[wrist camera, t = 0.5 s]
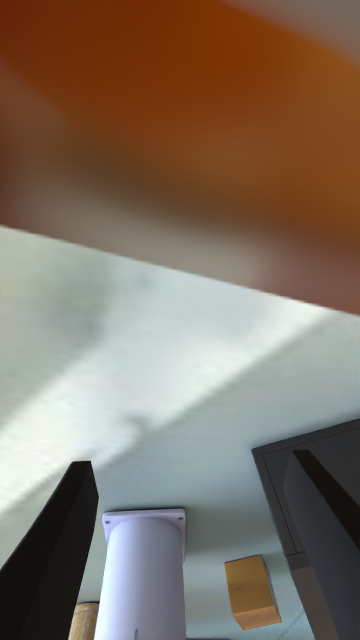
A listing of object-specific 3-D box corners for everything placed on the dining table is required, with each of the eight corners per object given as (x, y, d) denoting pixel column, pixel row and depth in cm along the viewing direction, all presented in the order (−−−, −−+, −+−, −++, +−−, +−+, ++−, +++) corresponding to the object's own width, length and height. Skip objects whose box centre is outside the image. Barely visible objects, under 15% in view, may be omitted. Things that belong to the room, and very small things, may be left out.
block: (268, 571, 35) (282, 622, 31) (233, 579, 35) (242, 630, 31) (260, 554, 33) (274, 606, 29) (224, 563, 33) (232, 615, 29)
